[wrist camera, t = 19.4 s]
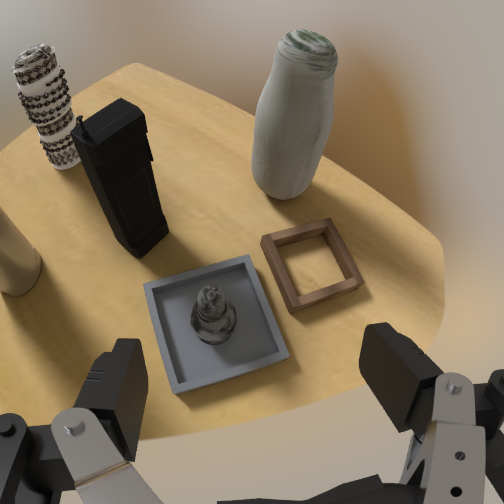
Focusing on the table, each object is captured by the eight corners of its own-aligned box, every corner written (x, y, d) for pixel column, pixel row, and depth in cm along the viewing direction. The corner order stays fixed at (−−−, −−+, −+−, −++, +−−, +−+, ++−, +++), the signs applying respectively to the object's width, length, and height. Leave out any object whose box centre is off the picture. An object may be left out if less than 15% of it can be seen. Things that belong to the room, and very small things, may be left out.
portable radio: (150, 206, 50) (117, 72, 28) (175, 227, 48) (151, 86, 26) (114, 238, 46) (56, 109, 25) (138, 261, 45) (83, 129, 23)
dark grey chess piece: (245, 319, 42) (253, 283, 31) (221, 355, 39) (220, 333, 28) (207, 296, 43) (202, 254, 32) (182, 331, 40) (168, 300, 29)
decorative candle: (82, 133, 58) (52, 33, 36) (95, 155, 55) (60, 45, 33) (46, 154, 54) (5, 57, 32) (55, 178, 51) (7, 73, 29)
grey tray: (175, 395, 37) (172, 393, 34) (146, 290, 43) (143, 283, 41) (286, 359, 40) (290, 356, 38) (247, 262, 46) (248, 253, 44)
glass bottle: (318, 192, 54) (371, 48, 30) (274, 220, 50) (314, 59, 26) (280, 157, 57) (310, 17, 33) (236, 181, 54) (249, 26, 29)
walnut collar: (289, 313, 43) (293, 307, 41) (260, 244, 48) (262, 235, 46) (357, 288, 46) (364, 281, 44) (325, 226, 51) (330, 217, 49)
